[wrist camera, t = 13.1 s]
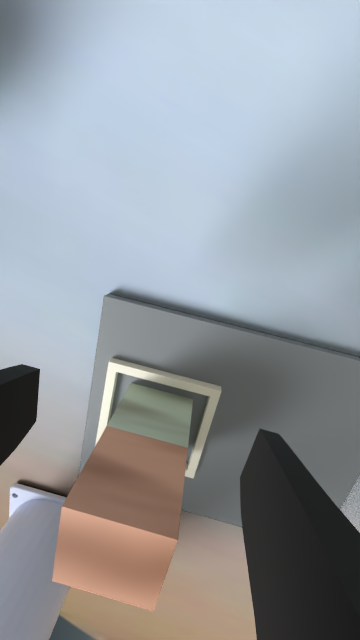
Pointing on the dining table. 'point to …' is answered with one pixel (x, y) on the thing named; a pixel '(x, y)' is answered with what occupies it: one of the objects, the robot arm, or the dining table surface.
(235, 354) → the grey board
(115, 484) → the terracotta block
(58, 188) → the dining table surface
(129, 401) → the sage block
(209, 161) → the dining table surface
